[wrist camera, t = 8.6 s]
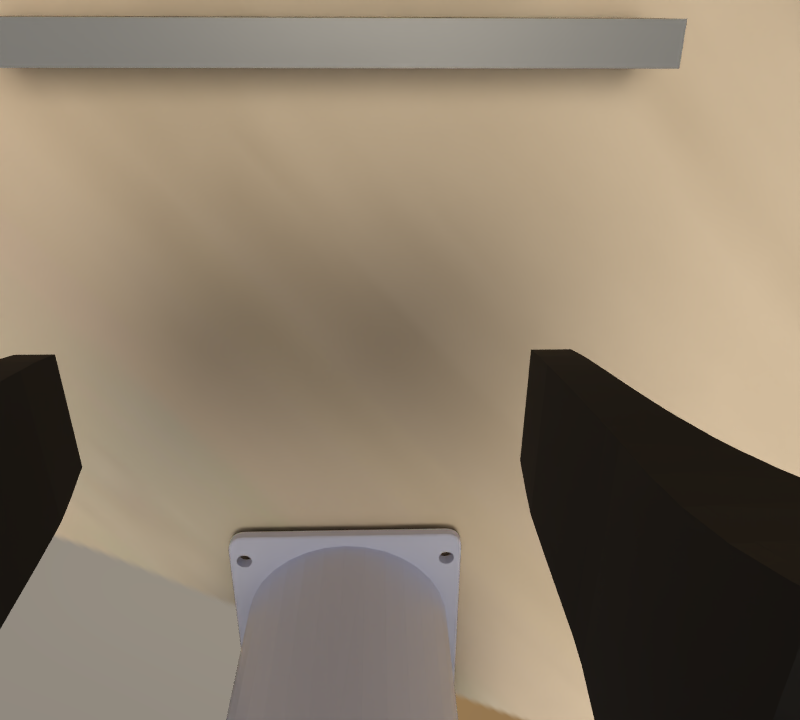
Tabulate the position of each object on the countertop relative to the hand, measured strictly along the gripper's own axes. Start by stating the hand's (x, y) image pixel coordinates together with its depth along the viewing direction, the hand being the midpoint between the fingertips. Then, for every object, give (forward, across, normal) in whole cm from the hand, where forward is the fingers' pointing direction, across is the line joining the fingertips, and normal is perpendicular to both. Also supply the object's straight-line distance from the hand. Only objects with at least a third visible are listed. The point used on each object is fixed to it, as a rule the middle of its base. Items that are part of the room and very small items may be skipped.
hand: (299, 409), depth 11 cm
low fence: (+10, 0, -5) cm, 11 cm away
